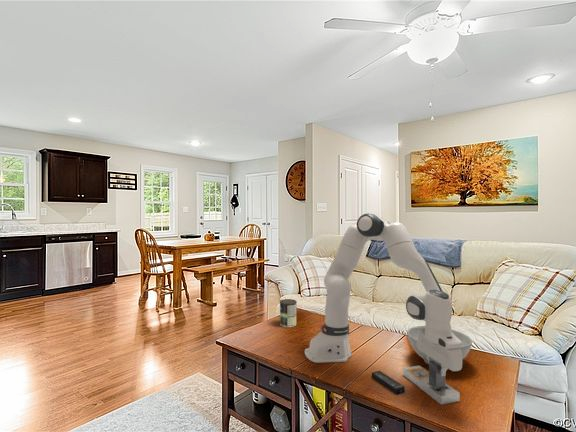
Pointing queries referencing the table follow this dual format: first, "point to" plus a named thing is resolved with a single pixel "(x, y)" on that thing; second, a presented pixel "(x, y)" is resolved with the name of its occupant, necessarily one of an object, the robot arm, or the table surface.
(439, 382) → the square peg
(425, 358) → the decorative bowl
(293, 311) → the coffee can
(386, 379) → the multiport hub
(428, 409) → the table surface
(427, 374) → the rail
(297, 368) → the table surface
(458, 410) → the table surface
